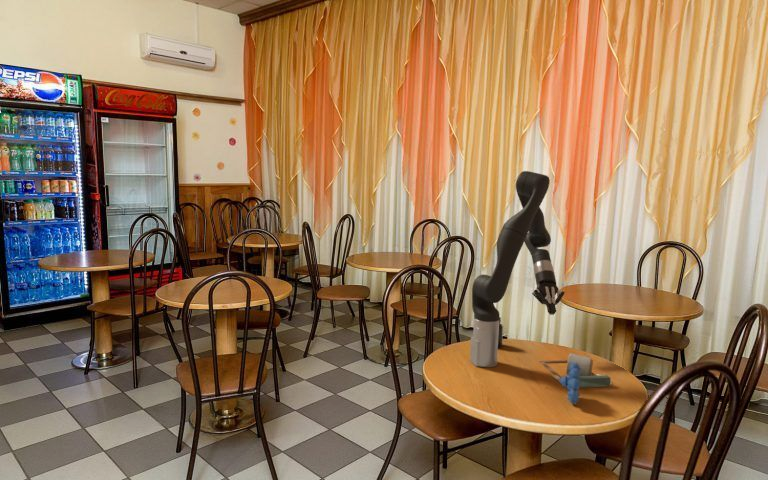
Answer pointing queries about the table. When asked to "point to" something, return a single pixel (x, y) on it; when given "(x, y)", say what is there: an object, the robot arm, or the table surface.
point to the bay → (585, 380)
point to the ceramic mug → (580, 364)
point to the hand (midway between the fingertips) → (552, 313)
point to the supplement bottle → (500, 334)
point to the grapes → (572, 382)
